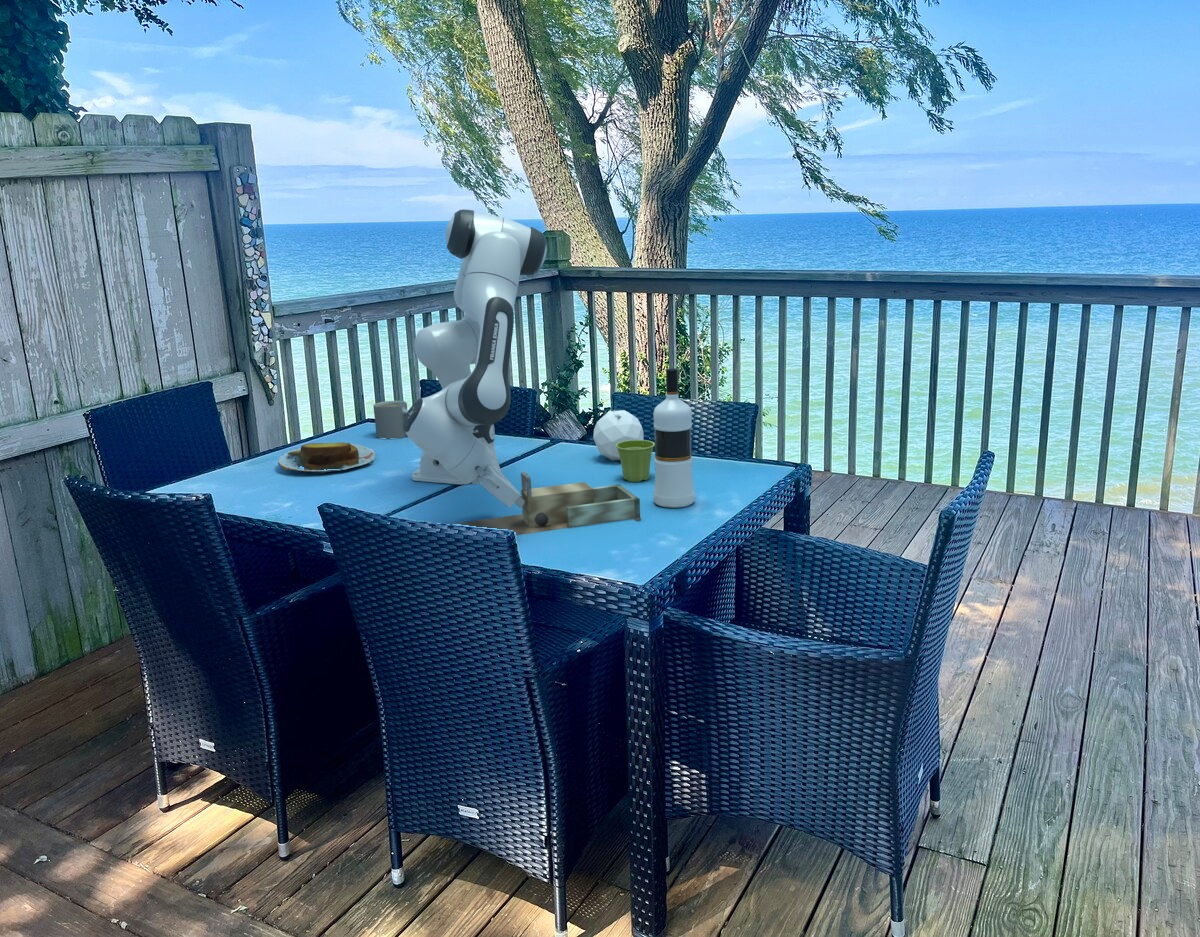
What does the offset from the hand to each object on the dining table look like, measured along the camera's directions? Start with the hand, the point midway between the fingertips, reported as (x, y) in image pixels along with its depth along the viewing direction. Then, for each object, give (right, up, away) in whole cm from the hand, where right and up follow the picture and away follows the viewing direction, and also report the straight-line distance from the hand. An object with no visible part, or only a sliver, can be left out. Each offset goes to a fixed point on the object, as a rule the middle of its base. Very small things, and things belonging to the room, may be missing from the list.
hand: (521, 503), depth 192 cm
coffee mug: (-46, +17, +92) cm, 104 cm away
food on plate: (-58, +8, +61) cm, 84 cm away
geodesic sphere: (+21, +9, +54) cm, 59 cm away
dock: (+5, -4, +3) cm, 7 cm away
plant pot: (+25, +4, +34) cm, 43 cm away
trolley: (+7, -3, +3) cm, 9 cm away
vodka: (+33, -1, +14) cm, 35 cm away
